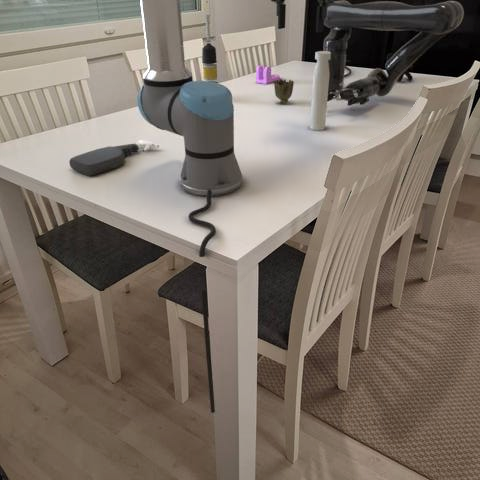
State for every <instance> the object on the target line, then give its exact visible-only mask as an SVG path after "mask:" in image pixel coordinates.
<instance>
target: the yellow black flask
mask: <svg viewBox="0 0 480 480" xmlns="http://www.w3.org/2000/svg"><path fill="white" fill-rule="evenodd" d="M210 17H211V14H204V18H205V27H206V29H205V30H206V31H205V33H206V39H207V40H206V42H207V43H206V45H204V46H202V49H201V50H202V51H201V52H202V54H201V55H202V57H201V58H202V61H201V63H202V71H203V72H202V73H203V74H202V75H203V81H206V82H215V83H219V82H218V81H216V80H218V64H216V63H218V61H217V48H216V47H215V46H214V45H212V43H210V42H211V40H210V39H211V31H210V29H211V28H210Z"/></svg>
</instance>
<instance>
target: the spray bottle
mask: <svg viewBox="0 0 480 480" xmlns="http://www.w3.org/2000/svg"><path fill="white" fill-rule="evenodd" d="M159 148H160V145H159V144H158V143H155V142H151V141H148V140H144V139H139V140H138V141H137V142H135V143H129V144H128V143H126V144H122V145H113V146H105V147H100V148H97V149H94V150H90V151H87V152H83V153H81V154H78V155H74V156H73V157H70V159H69V161H68V162H69V167H70V168H71V169H72V170H74V171H75V172H78V173H81V174H83V175H85V176H89V177H90V176H91V177H92V176H95V175H99V174H102V173H105V172H107V171H110V170H113V169H116V168H118V167H120V166H122V165H123V164H124V163H125V158H126V156H127V155H131V154H133V153H138V151H140V150H143V151H144V152H146V151H147V150H149V149H159Z"/></svg>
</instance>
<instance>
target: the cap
mask: <svg viewBox="0 0 480 480" xmlns="http://www.w3.org/2000/svg"><path fill="white" fill-rule="evenodd" d="M314 53H315V55H314V60H316V61H317V60H330V57H331V52H328V51H323V50H319V51H315V52H314Z"/></svg>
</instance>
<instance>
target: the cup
mask: <svg viewBox="0 0 480 480" xmlns="http://www.w3.org/2000/svg"><path fill="white" fill-rule="evenodd" d="M294 84H295V81H294V80H293V79H288V81H287V79H282V78H280V79H279V80H276V81H274V82H273V86H274V94H275V97H276V98H277V99H278V103H279V104H280V105H281V104H283V105H284V104H288V102H289V99H290V98H291V97H292V95H293V92H294Z"/></svg>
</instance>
